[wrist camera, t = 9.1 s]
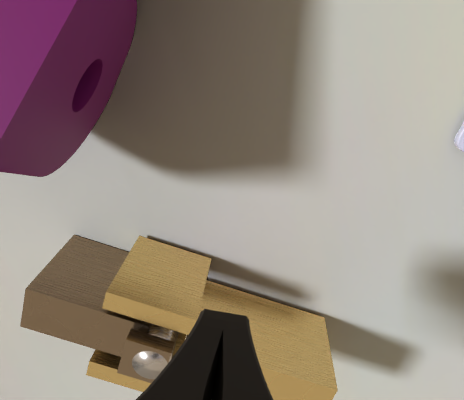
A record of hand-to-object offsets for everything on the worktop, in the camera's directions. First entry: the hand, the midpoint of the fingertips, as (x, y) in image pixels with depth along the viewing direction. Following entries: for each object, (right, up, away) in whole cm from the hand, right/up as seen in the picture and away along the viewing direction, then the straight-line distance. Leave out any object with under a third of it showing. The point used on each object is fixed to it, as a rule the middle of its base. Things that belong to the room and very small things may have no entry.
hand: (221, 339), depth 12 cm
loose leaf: (0, -2, +11) cm, 11 cm away
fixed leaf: (-5, 0, +11) cm, 12 cm away
